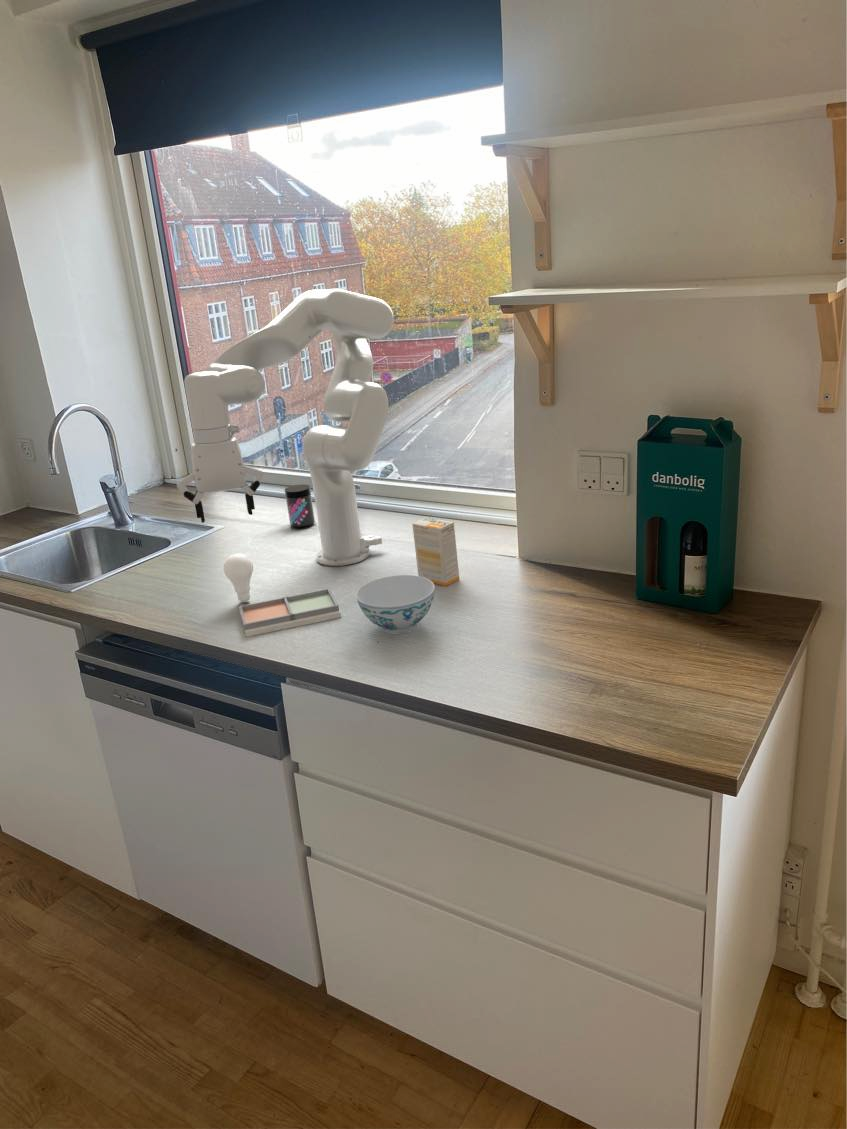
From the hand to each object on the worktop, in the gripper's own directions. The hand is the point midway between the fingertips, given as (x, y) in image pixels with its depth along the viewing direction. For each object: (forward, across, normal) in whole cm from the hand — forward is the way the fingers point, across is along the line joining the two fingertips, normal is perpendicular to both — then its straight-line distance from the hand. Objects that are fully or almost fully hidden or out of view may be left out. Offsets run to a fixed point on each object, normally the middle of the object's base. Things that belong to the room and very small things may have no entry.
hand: (226, 516), depth 179 cm
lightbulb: (+20, -1, 0) cm, 20 cm away
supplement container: (+19, -21, -46) cm, 54 cm away
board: (+19, -9, +12) cm, 24 cm away
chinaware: (+20, -28, +28) cm, 44 cm away
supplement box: (+19, -42, +8) cm, 47 cm away
